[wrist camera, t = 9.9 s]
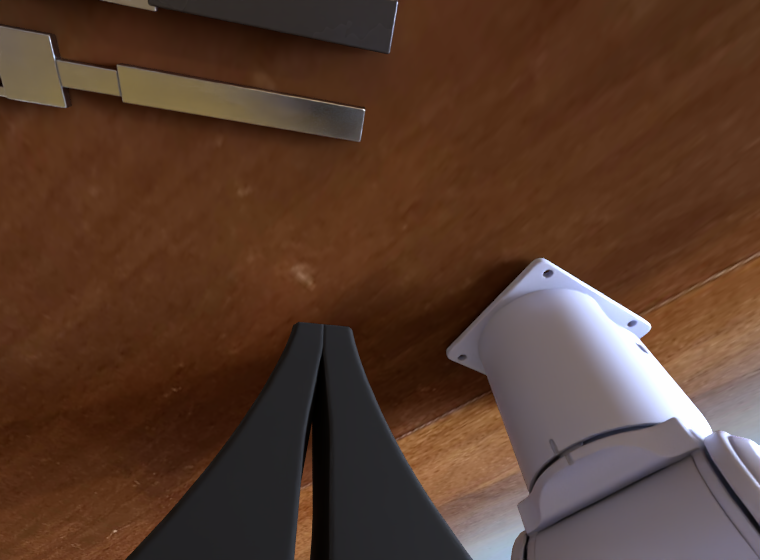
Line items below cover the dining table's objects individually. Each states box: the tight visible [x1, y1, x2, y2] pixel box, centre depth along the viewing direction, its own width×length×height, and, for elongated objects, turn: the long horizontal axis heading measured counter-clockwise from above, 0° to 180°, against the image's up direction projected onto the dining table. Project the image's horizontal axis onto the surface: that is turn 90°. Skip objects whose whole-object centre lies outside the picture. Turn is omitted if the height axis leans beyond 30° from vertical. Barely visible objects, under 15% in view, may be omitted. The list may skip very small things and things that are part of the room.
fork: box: [0, 24, 365, 142], centre depth 15 cm, size 16×2×1 cm, turn 79°
